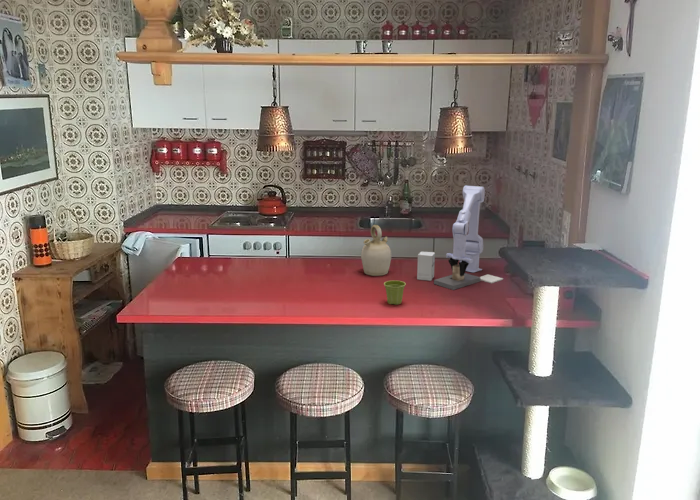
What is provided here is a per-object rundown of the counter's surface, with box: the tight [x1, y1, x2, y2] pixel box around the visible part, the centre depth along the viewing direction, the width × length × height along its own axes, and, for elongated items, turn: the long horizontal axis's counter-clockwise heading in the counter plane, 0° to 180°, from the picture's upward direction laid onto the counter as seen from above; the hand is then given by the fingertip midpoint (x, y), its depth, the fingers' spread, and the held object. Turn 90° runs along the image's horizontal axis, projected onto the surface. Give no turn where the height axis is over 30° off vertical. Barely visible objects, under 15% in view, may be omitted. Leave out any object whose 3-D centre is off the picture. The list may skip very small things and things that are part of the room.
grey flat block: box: [433, 272, 482, 291], centre depth 283 cm, size 12×20×2 cm, turn 130°
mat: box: [480, 274, 504, 284], centre depth 288 cm, size 9×9×1 cm
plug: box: [451, 263, 464, 281], centre depth 281 cm, size 4×4×7 cm
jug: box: [360, 224, 392, 277], centre depth 297 cm, size 15×16×25 cm
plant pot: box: [383, 280, 406, 305], centre depth 255 cm, size 9×9×9 cm
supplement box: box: [416, 251, 436, 282], centre depth 289 cm, size 7×7×13 cm
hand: (458, 274), depth 282 cm, fingers closed on plug, 4 cm apart
